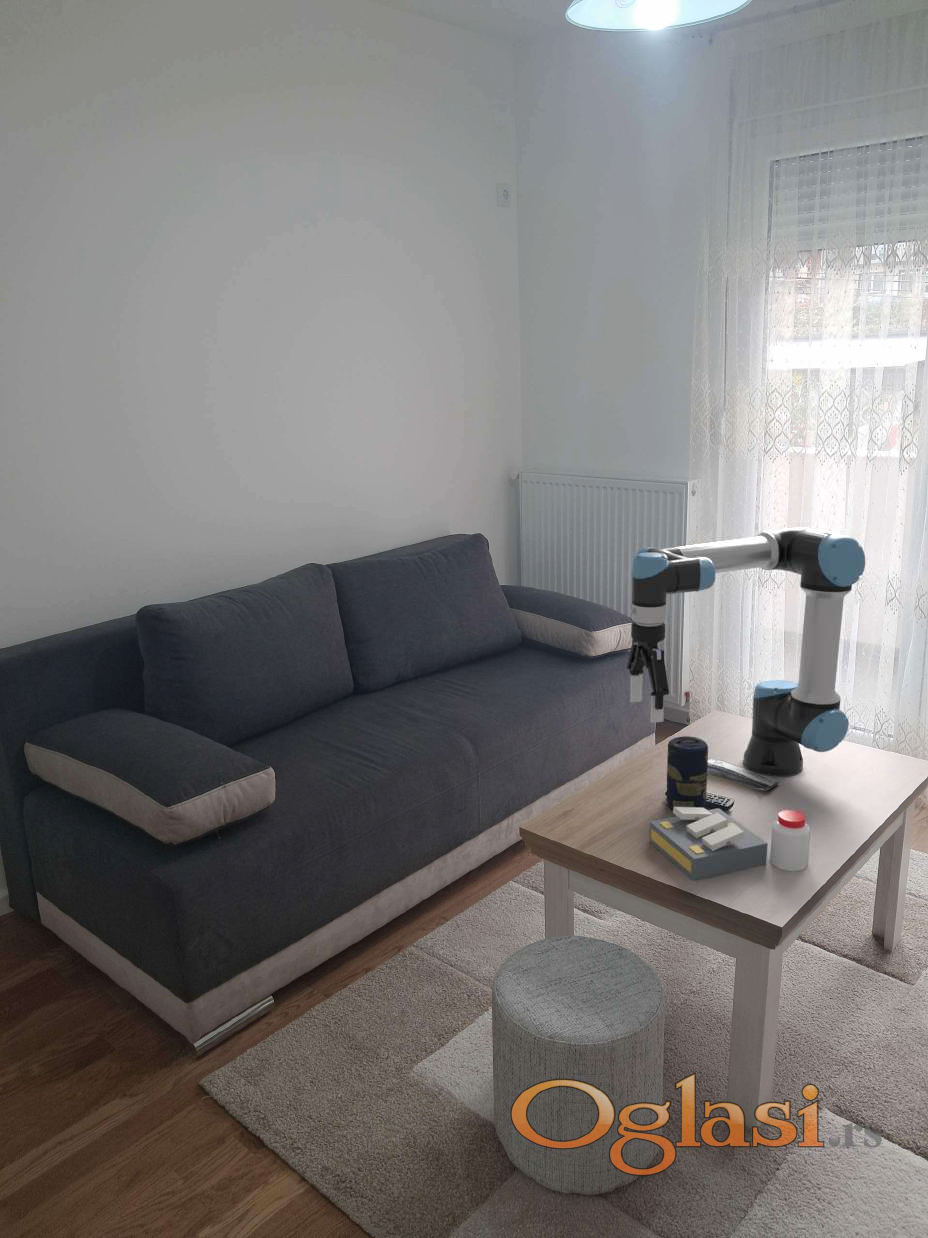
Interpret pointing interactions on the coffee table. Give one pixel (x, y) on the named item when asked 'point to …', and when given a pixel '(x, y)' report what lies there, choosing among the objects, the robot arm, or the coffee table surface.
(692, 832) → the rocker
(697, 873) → the switch unit
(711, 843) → the block
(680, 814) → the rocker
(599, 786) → the coffee table surface
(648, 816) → the coffee table surface
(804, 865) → the pill bottle
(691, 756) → the canister
